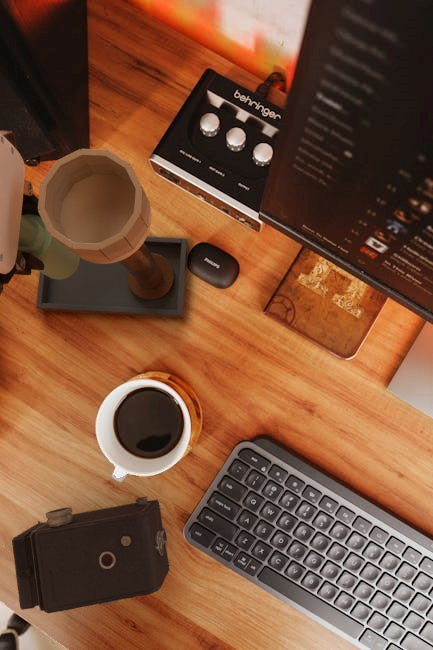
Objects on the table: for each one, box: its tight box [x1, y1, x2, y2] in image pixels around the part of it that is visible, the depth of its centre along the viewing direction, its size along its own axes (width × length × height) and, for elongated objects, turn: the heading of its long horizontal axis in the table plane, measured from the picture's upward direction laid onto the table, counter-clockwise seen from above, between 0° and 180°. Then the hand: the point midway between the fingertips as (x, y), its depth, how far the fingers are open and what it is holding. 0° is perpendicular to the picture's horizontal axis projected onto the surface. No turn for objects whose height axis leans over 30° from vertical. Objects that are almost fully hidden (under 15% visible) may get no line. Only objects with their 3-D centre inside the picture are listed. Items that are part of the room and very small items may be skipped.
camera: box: [11, 496, 172, 614], centre depth 59 cm, size 11×11×15 cm
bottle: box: [18, 214, 80, 280], centre depth 54 cm, size 4×4×14 cm
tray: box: [36, 236, 189, 319], centre depth 67 cm, size 17×9×2 cm, turn 87°
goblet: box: [38, 148, 175, 301], centre depth 53 cm, size 7×7×28 cm
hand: (30, 239), depth 52 cm, fingers closed on bottle, 4 cm apart
